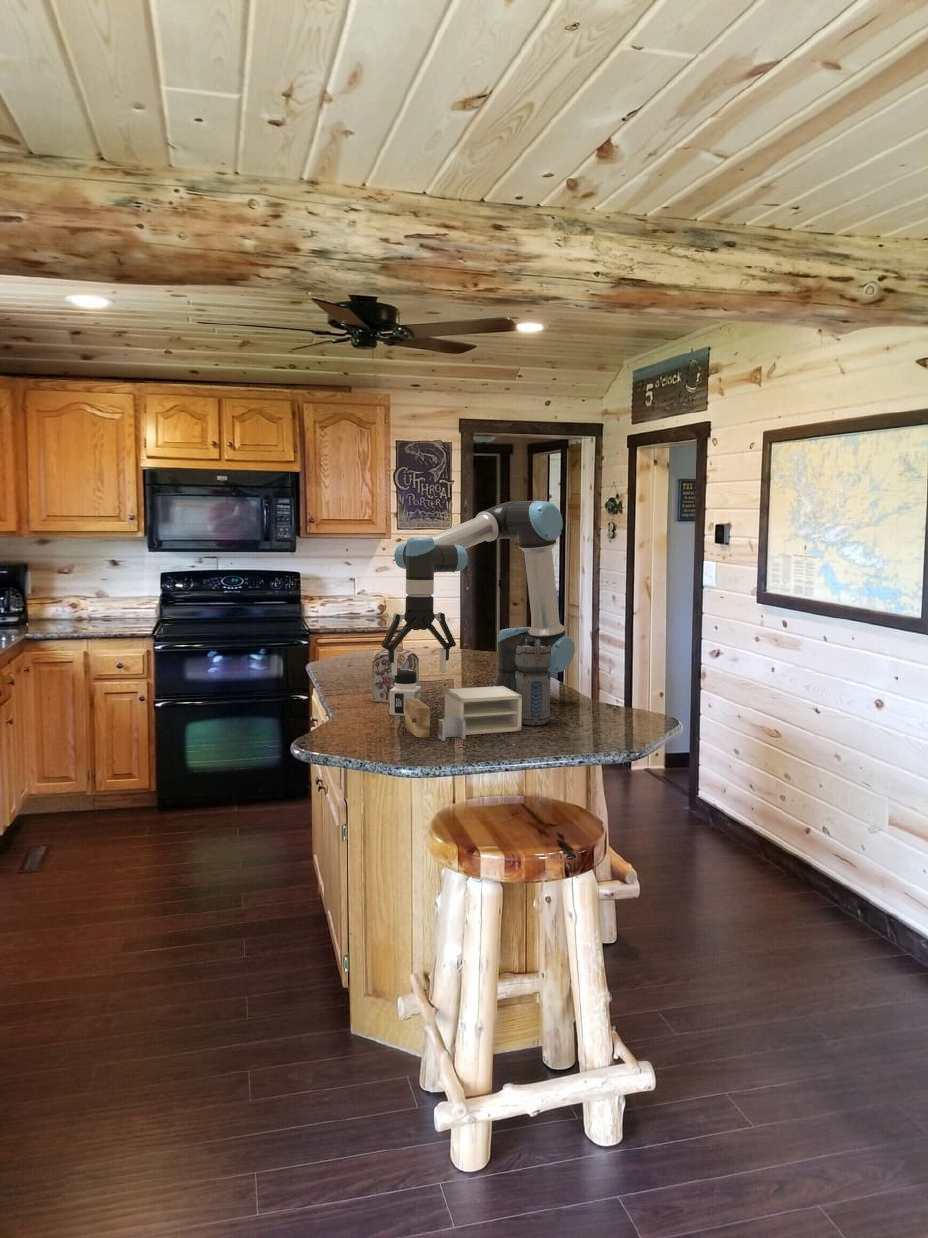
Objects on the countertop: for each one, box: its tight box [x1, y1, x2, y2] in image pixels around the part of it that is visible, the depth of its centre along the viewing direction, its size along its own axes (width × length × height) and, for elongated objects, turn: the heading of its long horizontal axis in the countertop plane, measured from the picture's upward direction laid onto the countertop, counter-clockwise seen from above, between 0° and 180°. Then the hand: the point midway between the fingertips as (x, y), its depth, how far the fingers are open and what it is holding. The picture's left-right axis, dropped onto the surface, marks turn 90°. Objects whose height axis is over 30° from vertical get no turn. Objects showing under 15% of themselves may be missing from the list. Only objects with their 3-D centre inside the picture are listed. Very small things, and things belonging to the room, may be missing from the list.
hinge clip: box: [437, 718, 466, 742], centre depth 229 cm, size 6×4×5 cm, turn 109°
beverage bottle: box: [515, 636, 552, 727], centre depth 248 cm, size 10×13×25 cm
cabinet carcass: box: [443, 686, 522, 736], centre depth 242 cm, size 18×14×10 cm
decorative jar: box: [371, 644, 420, 704], centre depth 276 cm, size 12×12×18 cm
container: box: [389, 670, 422, 717], centre depth 258 cm, size 8×8×13 cm
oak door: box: [404, 699, 431, 738], centre depth 235 cm, size 4×12×8 cm, turn 19°
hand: (418, 673), depth 233 cm, fingers open, 13 cm apart
